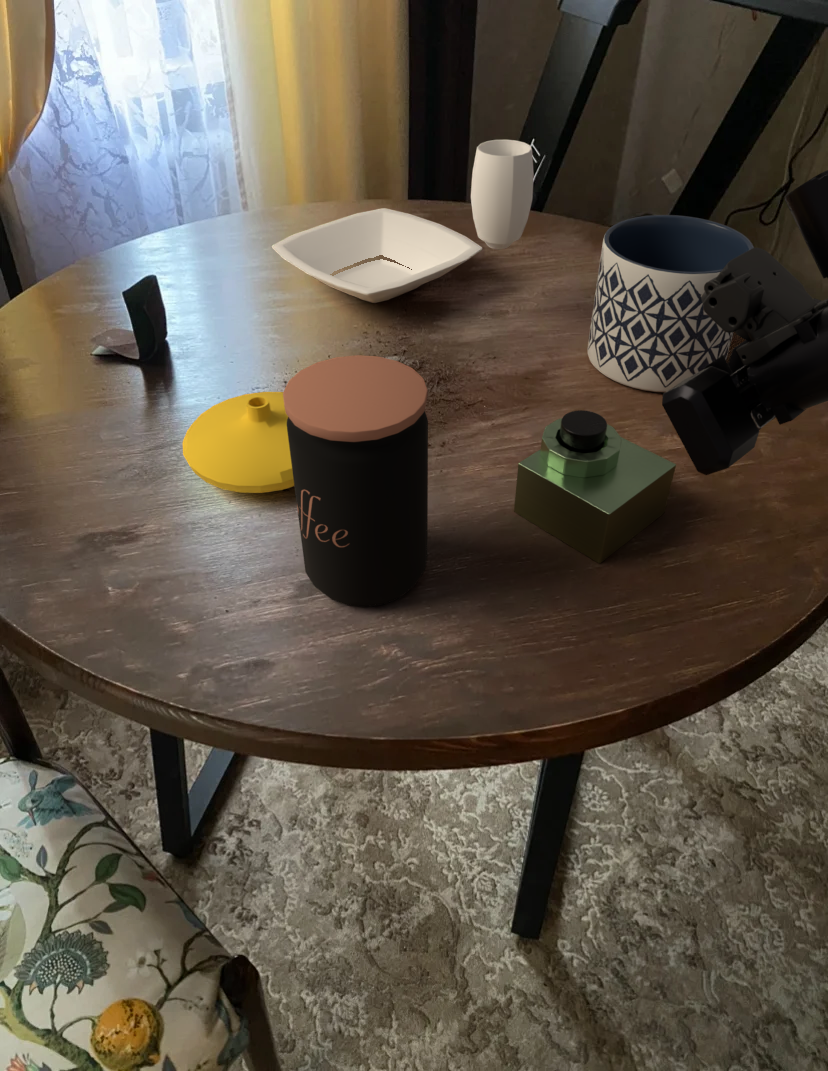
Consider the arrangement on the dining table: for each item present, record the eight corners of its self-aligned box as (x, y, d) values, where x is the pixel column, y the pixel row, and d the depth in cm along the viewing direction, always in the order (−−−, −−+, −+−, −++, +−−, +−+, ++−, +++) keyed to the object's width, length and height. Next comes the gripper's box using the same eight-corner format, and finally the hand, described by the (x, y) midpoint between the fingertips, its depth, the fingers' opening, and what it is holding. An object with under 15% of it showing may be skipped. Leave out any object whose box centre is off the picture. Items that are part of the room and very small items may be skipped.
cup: (511, 301, 112) (523, 135, 98) (530, 326, 106) (545, 154, 93) (459, 307, 110) (464, 140, 97) (475, 333, 105) (483, 160, 91)
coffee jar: (292, 543, 76) (268, 368, 64) (404, 518, 78) (401, 344, 66) (322, 626, 68) (301, 444, 56) (445, 594, 71) (449, 414, 59)
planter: (622, 405, 93) (645, 281, 83) (565, 338, 104) (579, 223, 94) (750, 384, 96) (786, 262, 86) (680, 321, 107) (706, 208, 98)
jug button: (613, 441, 75) (616, 422, 74) (585, 460, 73) (588, 440, 72) (577, 423, 77) (580, 404, 76) (549, 441, 75) (552, 422, 74)
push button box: (664, 513, 79) (680, 447, 74) (599, 564, 73) (612, 497, 69) (575, 465, 84) (585, 401, 79) (509, 509, 79) (515, 444, 74)
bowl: (261, 286, 116) (256, 245, 112) (388, 240, 128) (386, 202, 124) (365, 343, 103) (363, 300, 100) (495, 287, 115) (497, 246, 111)
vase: (155, 485, 82) (139, 425, 78) (243, 405, 93) (233, 348, 88) (294, 528, 77) (286, 466, 73) (370, 438, 88) (367, 379, 83)
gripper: (869, 189, 57) (693, 290, 70) (723, 271, 48) (551, 370, 61) (940, 334, 58) (753, 407, 71) (812, 443, 49) (623, 503, 62)
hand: (675, 417), depth 66 cm, fingers closed
